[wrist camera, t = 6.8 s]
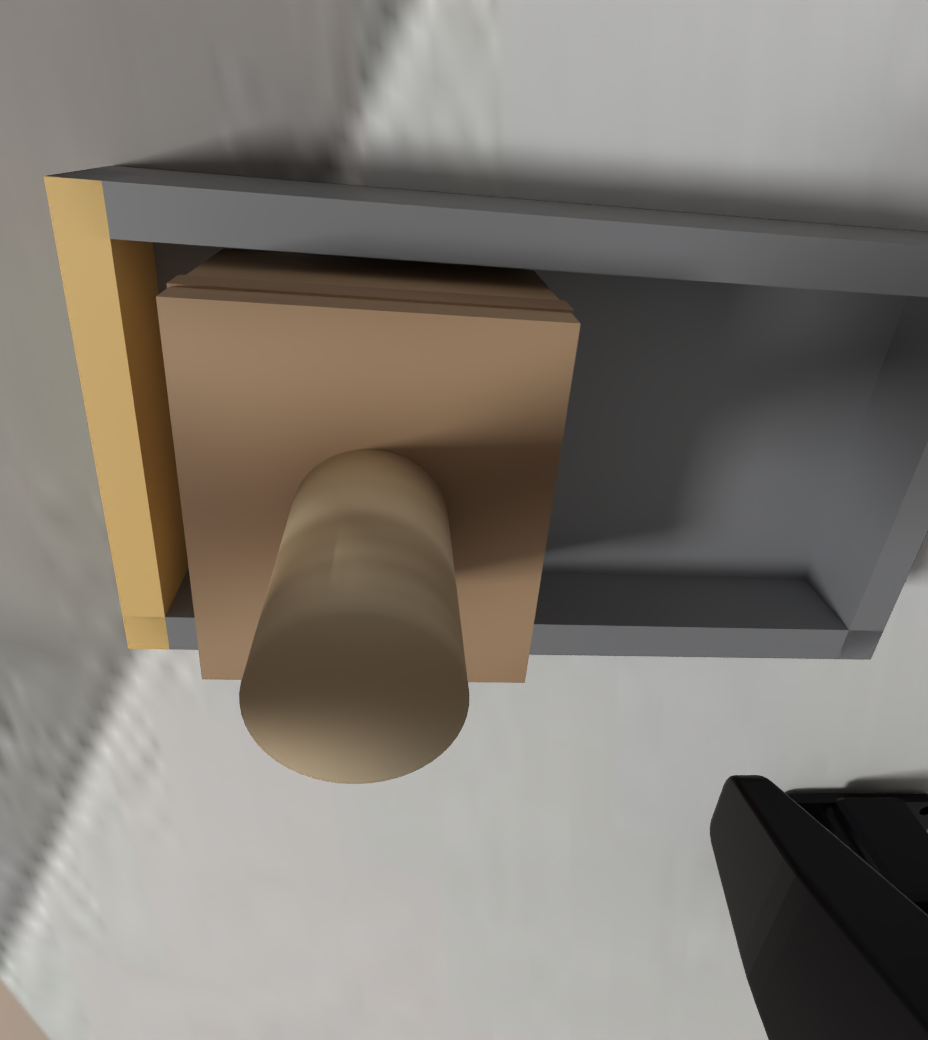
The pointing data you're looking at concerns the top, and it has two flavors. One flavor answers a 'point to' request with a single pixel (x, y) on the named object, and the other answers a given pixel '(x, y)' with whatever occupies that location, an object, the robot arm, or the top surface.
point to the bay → (575, 400)
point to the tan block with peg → (363, 491)
